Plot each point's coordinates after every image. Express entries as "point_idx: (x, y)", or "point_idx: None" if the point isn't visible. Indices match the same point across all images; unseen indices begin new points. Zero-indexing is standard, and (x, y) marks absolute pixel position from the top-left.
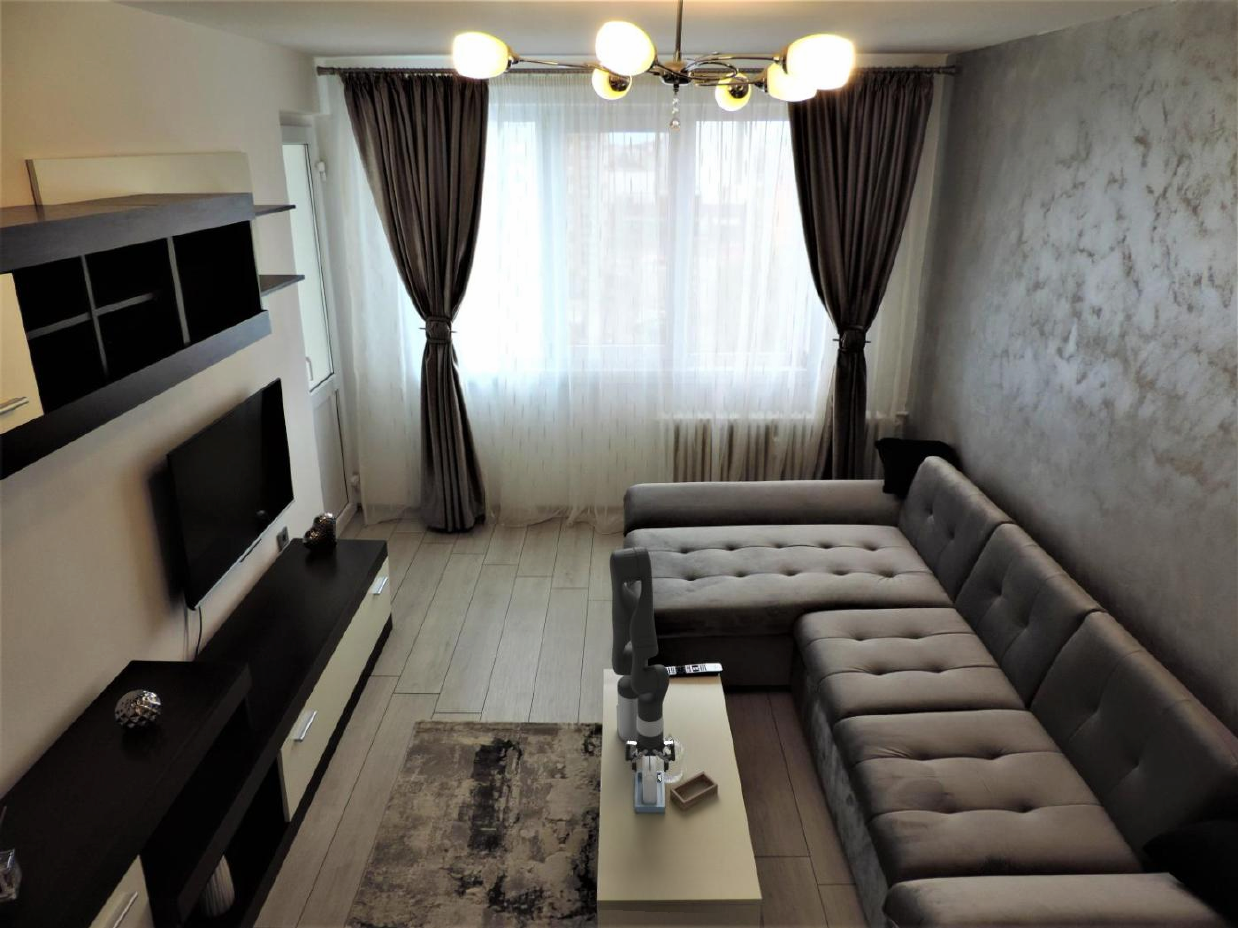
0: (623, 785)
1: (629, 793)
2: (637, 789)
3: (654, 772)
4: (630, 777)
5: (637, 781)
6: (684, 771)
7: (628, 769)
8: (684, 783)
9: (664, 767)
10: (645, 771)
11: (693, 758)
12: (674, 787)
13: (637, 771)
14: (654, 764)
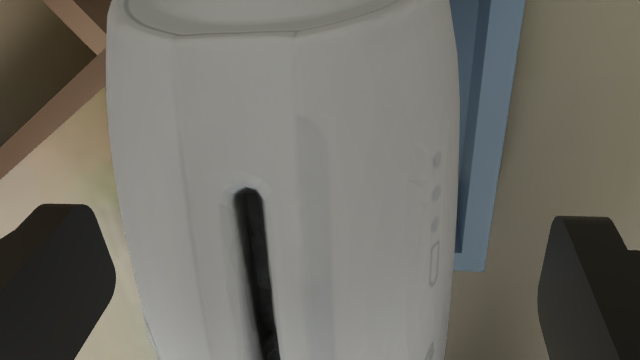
0: (593, 145)
1: (553, 55)
2: (486, 57)
3: (122, 129)
4: (515, 219)
5: (475, 159)
6: (122, 253)
7: (520, 284)
8: (21, 127)
9: (8, 269)
10: (385, 160)
11: (96, 332)
12: (94, 78)
13: (463, 260)
14: (159, 345)
